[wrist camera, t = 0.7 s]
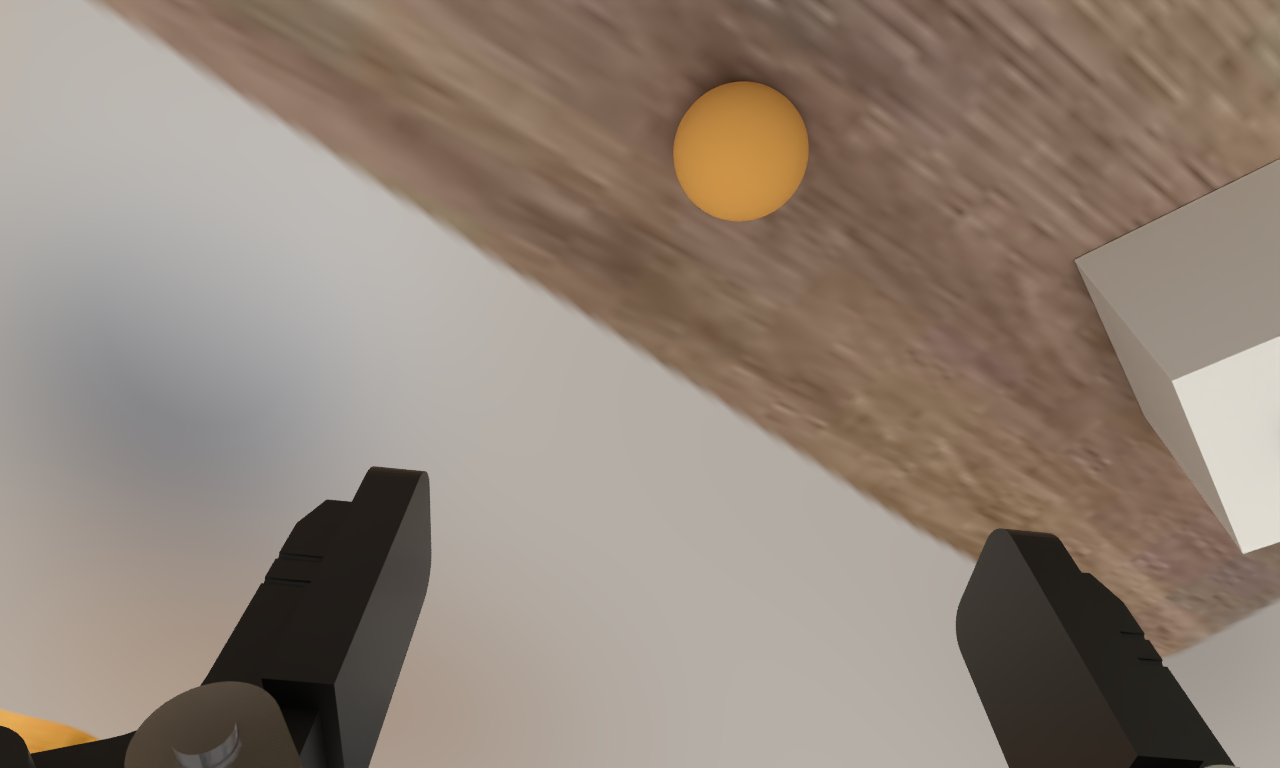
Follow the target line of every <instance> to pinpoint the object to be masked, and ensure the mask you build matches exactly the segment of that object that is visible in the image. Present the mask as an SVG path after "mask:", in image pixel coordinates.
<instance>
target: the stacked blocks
mask: <svg viewBox="0 0 1280 768" xmlns="http://www.w3.org/2000/svg"><path fill="white" fill-rule="evenodd" d="M1074 261H1075V263H1076V265H1077V267H1078V270H1079V272H1080V274H1081V276H1082V279H1083V281H1084V283H1085V285H1086V287H1087V290H1088V292H1089V294H1090V296H1091V299H1092V301H1093V303H1094V305H1095V308H1096V310H1097V312H1098V314H1099V316H1100V319H1101V321H1102V323H1103V325H1104V328H1105V330H1106V332H1107V334H1108V336H1109V339H1110V341H1111V343H1112V345H1113V348H1114V350H1115V352H1116V354H1117V357H1118V359H1119V361H1120V363H1121V365H1122V368H1123V370H1124V372H1125V374H1126V377H1127V379H1128V381H1129V383H1130V386H1131V388H1132V390H1133V392H1134V394H1135V397H1136V399H1137V401H1138V403H1139V406H1140V408H1141V410H1142V412H1143V414H1144V416H1145V418H1146V419H1147V421H1148V422H1149V423H1150V425H1151V426H1152V428H1153V429H1154V430H1155V432H1156V433H1157V435H1158V436H1159V437H1160V439H1161V440H1162V441H1163V443H1164V444H1165V446H1166V447H1167V448H1168V450H1169V451H1170V453H1171V454H1172V455H1173V457H1174V458H1175V460H1176V461H1177V462H1178V464H1179V465H1180V467H1181V468H1182V469H1183V471H1184V472H1185V474H1186V475H1187V476H1188V478H1189V479H1190V481H1191V482H1192V483H1193V485H1194V486H1195V488H1196V489H1197V490H1198V492H1199V493H1200V494H1201V496H1202V497H1203V499H1204V500H1205V501H1206V503H1207V504H1208V506H1209V507H1210V508H1211V510H1212V511H1213V513H1214V514H1215V515H1216V517H1217V518H1218V520H1219V521H1220V522H1221V524H1222V525H1223V527H1224V528H1225V529H1226V531H1227V532H1228V534H1229V535H1230V536H1231V538H1232V539H1233V540H1234V542H1235V543H1236V545H1237V546H1238V547H1239V549H1240V550H1241V552H1242V553H1243V554H1244V553H1247V552H1250V551H1253V550H1256V549H1259V548H1262V547H1265V546H1269V545H1272V544H1275V543H1278V542H1280V159H1278V160H1276V161H1274V162H1272V163H1270V164H1268V165H1266V166H1264V167H1262V168H1260V169H1258V170H1256V171H1254V172H1252V173H1250V174H1248V175H1246V176H1244V177H1242V178H1240V179H1238V180H1236V181H1234V182H1232V183H1230V184H1228V185H1226V186H1223V187H1221V188H1219V189H1217V190H1215V191H1213V192H1211V193H1209V194H1207V195H1205V196H1203V197H1201V198H1199V199H1197V200H1195V201H1193V202H1191V203H1189V204H1187V205H1185V206H1183V207H1181V208H1179V209H1177V210H1175V211H1173V212H1170V213H1168V214H1166V215H1164V216H1162V217H1160V218H1158V219H1156V220H1154V221H1152V222H1150V223H1148V224H1146V225H1144V226H1142V227H1140V228H1138V229H1136V230H1134V231H1132V232H1130V233H1128V234H1126V235H1124V236H1122V237H1120V238H1118V239H1115V240H1113V241H1111V242H1109V243H1107V244H1105V245H1103V246H1101V247H1099V248H1097V249H1095V250H1093V251H1091V252H1089V253H1087V254H1085V255H1083V256H1081V257H1079V258H1077V259H1075V260H1074Z"/></svg>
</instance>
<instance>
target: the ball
mask: <svg viewBox="0 0 1280 768" xmlns="http://www.w3.org/2000/svg"><path fill="white" fill-rule="evenodd" d="M808 156H809V142H808V136H807V130H806V127H805V124H804V122H803V120H802V118H801V116H800V114H799V112H798V111H797V109H796V108H795V106H794V105H793V104H792V103H791V102H790V101H789V100H788V99H787V98H786V97H785V96H784V95H782V94H781V93H780V92H778V91H776V90H775V89H773V88H771V87H769V86H766V85H764V84H760V83H756V82H748V81H739V82H731V83H727V84H723V85H720V86H718V87H716V88H713V89H711V90H710V91H708V92H706V93H705V94H704V95H702V96H701V97H700V98H698V99H697V100H696V101H695V102H694V103H693V104H692V106H691V107H690V108H689V109H688V111H687V112H686V113H685V115H684V117H683V118H682V120H681V122H680V125H679V127H678V129H677V133H676V137H675V141H674V149H673V158H674V166H675V171H676V175H677V178H678V180H679V182H680V185H681V187H682V188H683V190H684V192H685V193H686V195H687V196H688V197H689V198H690V200H691V201H692V202H693V203H694V204H695V205H696V206H698V207H699V208H700V209H702V210H703V211H705V212H706V213H708V214H710V215H712V216H714V217H717V218H720V219H724V220H728V221H749V220H754V219H758V218H761V217H763V216H766V215H768V214H770V213H772V212H774V211H775V210H777V209H778V208H780V207H781V206H782V205H783V204H784V203H786V202H787V201H788V200H789V198H790V197H791V196H792V195H793V194H794V192H795V191H796V189H797V188H798V187H799V185H800V183H801V181H802V179H803V176H804V174H805V171H806V167H807V162H808Z"/></svg>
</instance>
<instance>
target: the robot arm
mask: <svg viewBox="0 0 1280 768" xmlns="http://www.w3.org/2000/svg"><path fill="white" fill-rule="evenodd" d="M430 526H431V524H430V489H429V477H428V474H427V472H425V471H416V470H406V469H395V468H385V467H371V468H370V469H369V470H368V472H367V473H366V475H365V477H364V479H363V481H362V483H361V485H360V487H359V489H358V491H357V493H356V495H355V497H354V499H353V501H352V502H348V501H337V500H326V501H324V502H323V503H322V504H321V505H319V506H318V507H317V508H315V509H314V510H313V511H312V512H310V513H309V514H308V515H307V516H305V517H304V518H303V519H301V520H300V521H299V522H297V524H296V525H295V527H294V529H293V530H292V532H291V534H290V535H289V537H288V539H287V540H286V542H285V544H284V546H283V547H282V549H281V551H280V552H279V558H278V559H275V561H274V563H273V564H272V566H271V568H270V569H269V571H268V573H267V575H266V576H265V582H264V584H263V583H262V584H261V585H260V586H259V588H258V590H257V592H256V594H255V595H254V597H253V598H252V600H251V602H250V603H249V605H248V607H247V609H246V610H245V612H244V614H243V616H242V617H241V619H240V621H239V622H238V624H237V626H236V627H235V630H234V631H233V633H232V634H231V636H230V638H229V639H228V641H227V643H226V644H225V646H224V648H223V650H222V651H221V653H220V655H219V657H218V658H217V660H216V662H215V663H214V665H213V667H212V668H211V670H210V672H209V673H208V675H207V677H206V678H205V680H204V681H203V683H202V684H201V686H199V687H196V688H193V689H190V690H189V691H186V692H184V693H182V694H180V695H177V696H176V697H174V698H172V699H171V700H169V701H167V702H166V703H164V704H163V705H162V706H160V707H159V708H158V709H156V710H155V711H154V712H153V713H152V714H151V715H150V716H149V717H148V718H147V719H146V720H145V721H144V722H143V723H142V725H141V726H140V727H139V728H138V730H136V731H134V732H131V733H128V734H125V735H121V736H117V737H113V738H109V739H104V740H99V741H94V742H89V743H83V744H78V745H73V746H68V747H63V748H58V749H53V750H47V751H42V752H37V753H32V754H30V752H29V750H28V748H27V746H26V744H25V742H24V740H23V739H22V738H21V737H20V736H19V735H18V734H17V733H16V732H14V731H13V730H11V729H9V728H6V727H3V726H0V768H368V767H369V764H370V761H371V758H372V755H373V752H374V749H375V746H376V743H377V740H378V737H379V734H380V731H381V728H382V725H383V722H384V719H385V716H386V713H387V710H388V707H389V704H390V701H391V698H392V695H393V692H394V689H395V686H396V683H397V680H398V677H399V674H400V671H401V668H402V665H403V662H404V659H405V656H406V653H407V650H408V647H409V644H410V641H411V638H412V635H413V632H414V629H415V626H416V623H417V620H418V617H419V614H420V611H421V608H422V605H423V602H424V599H425V596H426V592H427V587H428V582H429V576H430V568H431V527H430ZM956 635H957V641H958V645H959V648H960V651H961V653H962V656H963V658H964V660H965V663H966V666H967V668H968V670H969V673H970V675H971V678H972V680H973V682H974V685H975V687H976V689H977V692H978V694H979V697H980V699H981V702H982V704H983V706H984V709H985V711H986V713H987V716H988V718H989V721H990V723H991V725H992V728H993V730H994V733H995V735H996V737H997V740H998V742H999V745H1000V747H1001V749H1002V752H1003V754H1004V757H1005V759H1006V761H1007V764H1008V766H1009V768H1238V767H1235V765H1234V764H1233V762H1232V761H1231V759H1230V758H1229V757H1228V755H1227V754H1226V752H1225V751H1224V749H1223V748H1222V746H1221V745H1220V743H1219V742H1218V740H1217V739H1216V738H1215V736H1214V735H1213V733H1212V732H1211V730H1210V729H1209V727H1208V726H1207V725H1206V723H1205V722H1204V720H1203V718H1202V717H1201V716H1200V714H1199V713H1198V711H1197V710H1196V708H1195V707H1194V705H1193V704H1192V702H1191V701H1190V699H1189V698H1188V697H1187V695H1186V694H1185V692H1184V691H1183V689H1182V688H1181V686H1180V685H1179V683H1178V682H1177V681H1176V679H1175V677H1174V676H1173V675H1172V673H1171V672H1170V671H1169V669H1168V667H1163V665H1162V658H1161V657H1160V656H1159V654H1158V653H1157V651H1156V650H1155V648H1154V647H1153V645H1152V644H1151V642H1150V641H1149V640H1145V639H1144V632H1143V631H1142V629H1141V628H1140V626H1139V625H1138V623H1137V622H1136V620H1135V619H1134V617H1133V616H1132V615H1131V613H1130V612H1129V610H1128V609H1127V607H1126V606H1125V604H1124V603H1123V602H1122V601H1121V600H1120V599H1119V598H1118V597H1117V596H1115V595H1114V594H1113V593H1112V592H1111V591H1110V590H1109V589H1107V588H1106V587H1105V586H1104V585H1103V584H1102V583H1100V582H1099V581H1098V580H1097V579H1096V578H1095V577H1094V576H1092V575H1091V574H1090V573H1081V571H1080V570H1079V568H1078V567H1077V565H1076V564H1075V562H1074V560H1073V559H1072V557H1071V556H1070V554H1069V553H1068V551H1067V550H1066V548H1065V547H1064V545H1063V544H1062V542H1061V541H1060V539H1059V538H1058V537H1056V536H1055V535H1053V534H1050V533H1042V532H1032V531H1021V530H1011V529H996V530H994V531H993V532H992V533H991V534H990V535H989V537H988V539H987V541H986V543H985V545H984V548H983V550H982V552H981V554H980V557H979V559H978V561H977V564H976V566H975V568H974V571H973V573H972V575H971V578H970V580H969V582H968V585H967V587H966V589H965V592H964V594H963V596H962V599H961V601H960V604H959V606H958V610H957V616H956Z"/></svg>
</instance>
